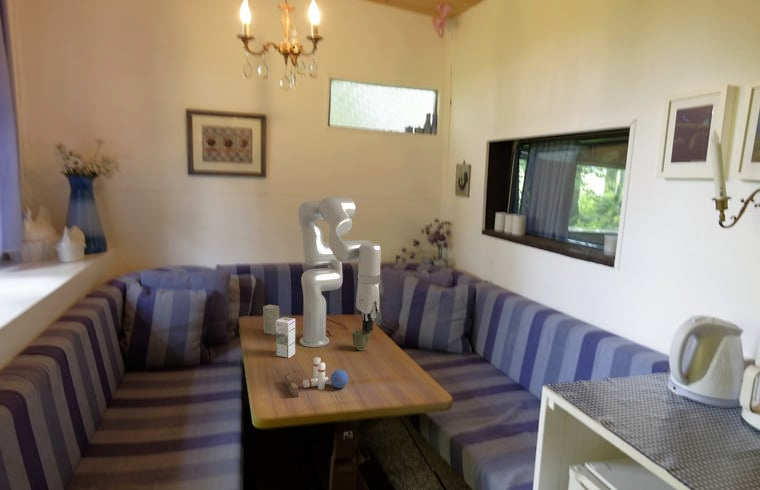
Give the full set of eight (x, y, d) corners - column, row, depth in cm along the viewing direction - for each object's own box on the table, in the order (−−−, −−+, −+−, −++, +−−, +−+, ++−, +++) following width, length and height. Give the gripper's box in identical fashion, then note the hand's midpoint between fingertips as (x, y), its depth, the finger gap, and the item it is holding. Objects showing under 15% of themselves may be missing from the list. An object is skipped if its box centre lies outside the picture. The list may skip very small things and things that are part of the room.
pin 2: (316, 387, 160) (316, 362, 159) (323, 386, 161) (323, 361, 160) (318, 390, 158) (319, 365, 157) (326, 389, 159) (326, 364, 158)
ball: (329, 369, 158) (344, 363, 162) (325, 379, 162) (339, 373, 165) (339, 384, 155) (354, 378, 159) (334, 394, 159) (348, 387, 163)
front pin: (326, 381, 164) (302, 385, 161) (326, 375, 164) (302, 378, 160) (328, 385, 162) (304, 389, 158) (329, 379, 161) (304, 382, 158)
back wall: (284, 382, 163) (284, 374, 162) (288, 382, 163) (288, 373, 163) (293, 397, 152) (294, 388, 152) (298, 396, 153) (298, 387, 152)
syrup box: (295, 353, 190) (296, 318, 188) (288, 358, 184) (288, 322, 182) (283, 351, 192) (283, 316, 190) (275, 356, 186) (275, 320, 184)
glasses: (325, 325, 229) (325, 315, 228) (348, 330, 223) (348, 319, 222) (308, 332, 218) (308, 321, 217) (331, 337, 211) (332, 326, 211)
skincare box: (280, 332, 215) (280, 306, 213) (273, 335, 211) (273, 308, 209) (270, 330, 218) (270, 304, 216) (262, 332, 214) (262, 306, 212)
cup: (367, 353, 192) (368, 334, 191) (349, 352, 193) (350, 332, 192) (371, 347, 199) (372, 329, 198) (354, 345, 201) (354, 327, 200)
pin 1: (312, 381, 165) (312, 357, 164) (318, 380, 166) (319, 356, 165) (314, 384, 162) (314, 360, 161) (321, 383, 163) (321, 359, 162)
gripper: (350, 275, 170) (349, 325, 172) (367, 284, 156) (366, 338, 159) (370, 274, 173) (368, 323, 175) (388, 283, 159) (386, 336, 162)
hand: (367, 330), depth 167 cm, fingers closed
